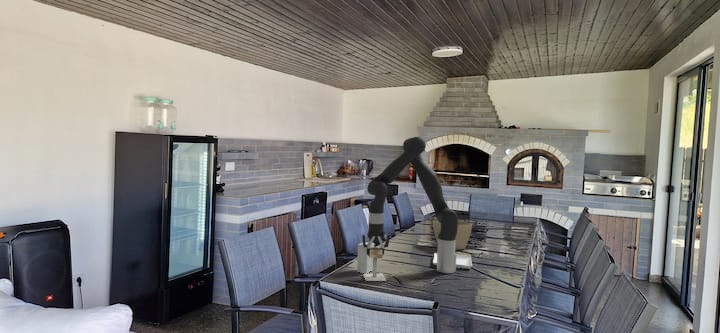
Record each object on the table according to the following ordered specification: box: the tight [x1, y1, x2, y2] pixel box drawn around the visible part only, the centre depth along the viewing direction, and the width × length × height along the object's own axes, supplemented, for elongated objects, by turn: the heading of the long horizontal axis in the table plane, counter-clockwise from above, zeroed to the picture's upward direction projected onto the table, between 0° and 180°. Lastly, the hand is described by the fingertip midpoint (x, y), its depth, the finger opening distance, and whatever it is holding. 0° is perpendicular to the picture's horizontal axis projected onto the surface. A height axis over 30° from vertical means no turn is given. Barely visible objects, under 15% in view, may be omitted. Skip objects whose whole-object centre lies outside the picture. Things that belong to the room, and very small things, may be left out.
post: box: [362, 258, 387, 282], centre depth 215 cm, size 10×10×10 cm
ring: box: [369, 246, 383, 259], centre depth 214 cm, size 6×6×4 cm
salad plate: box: [432, 252, 473, 270], centre depth 245 cm, size 21×21×3 cm
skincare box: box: [356, 241, 375, 274], centre depth 226 cm, size 8×6×15 cm
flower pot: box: [432, 219, 473, 251], centre depth 284 cm, size 19×19×17 cm
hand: (375, 255), depth 214 cm, fingers closed on ring, 6 cm apart
